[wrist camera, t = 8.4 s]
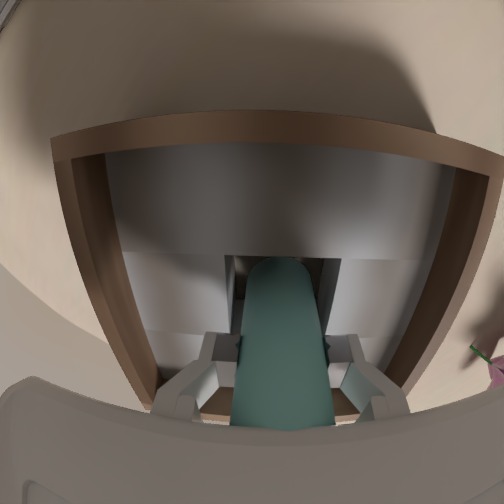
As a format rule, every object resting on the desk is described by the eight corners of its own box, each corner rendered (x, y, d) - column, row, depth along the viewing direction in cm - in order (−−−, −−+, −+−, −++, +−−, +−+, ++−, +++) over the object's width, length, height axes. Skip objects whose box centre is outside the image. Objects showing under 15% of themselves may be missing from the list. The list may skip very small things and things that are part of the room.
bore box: (437, 134, 12) (506, 157, 7) (375, 356, 21) (392, 414, 15) (120, 122, 13) (50, 138, 8) (165, 351, 22) (145, 409, 16)
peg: (314, 257, 14) (353, 441, 6) (307, 309, 16) (325, 472, 7) (246, 255, 15) (220, 443, 6) (247, 307, 16) (229, 472, 8)
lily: (444, 384, 26) (488, 424, 18) (433, 392, 19) (492, 447, 11) (496, 308, 24) (542, 344, 16) (503, 284, 17) (568, 333, 9)
